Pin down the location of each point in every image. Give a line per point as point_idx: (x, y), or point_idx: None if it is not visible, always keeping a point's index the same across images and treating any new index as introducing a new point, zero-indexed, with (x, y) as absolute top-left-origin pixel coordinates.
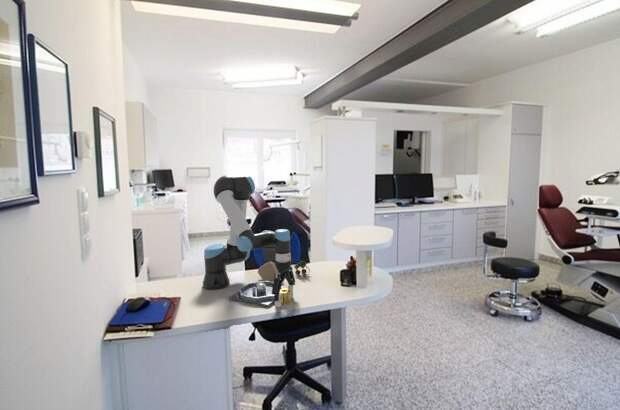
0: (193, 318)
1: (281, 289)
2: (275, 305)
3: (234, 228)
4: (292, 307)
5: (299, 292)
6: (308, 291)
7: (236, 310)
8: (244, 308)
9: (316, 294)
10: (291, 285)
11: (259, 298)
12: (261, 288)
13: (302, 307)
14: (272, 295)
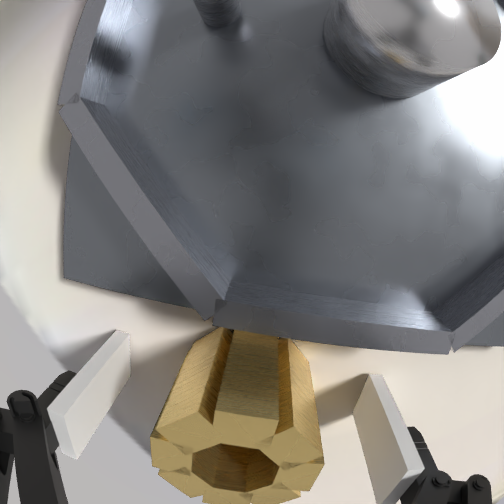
0: None
1: (276, 438)
2: (112, 338)
3: None
4: None
5: (469, 402)
6: (474, 438)
7: (3, 47)
8: (29, 72)
9: None
10: (393, 498)
11: (82, 142)
12: (353, 26)
13: None
14: (195, 294)
